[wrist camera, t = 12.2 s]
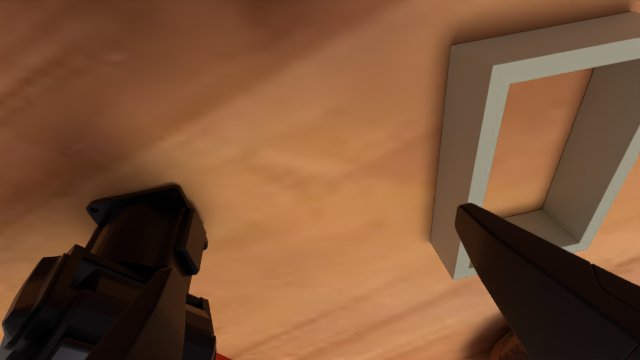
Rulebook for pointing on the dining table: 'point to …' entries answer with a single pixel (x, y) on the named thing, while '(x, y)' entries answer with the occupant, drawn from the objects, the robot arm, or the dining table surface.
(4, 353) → the robot arm
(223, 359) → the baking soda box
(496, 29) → the dining table surface
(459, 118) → the rectangular open frame
